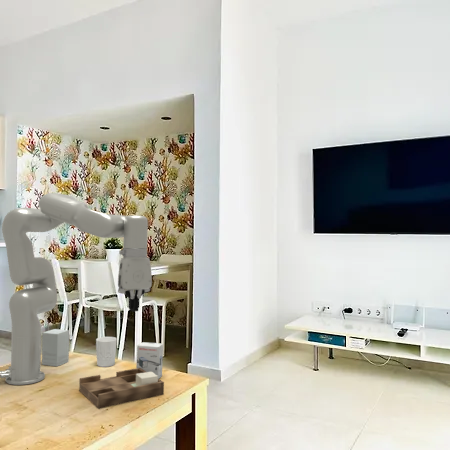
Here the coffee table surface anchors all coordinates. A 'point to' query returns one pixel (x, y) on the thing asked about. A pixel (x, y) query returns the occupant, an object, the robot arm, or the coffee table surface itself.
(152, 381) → the ivory block
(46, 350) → the supplement box
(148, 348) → the ink box
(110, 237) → the robot arm
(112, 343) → the light grey cylinder
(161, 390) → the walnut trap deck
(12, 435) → the coffee table surface
